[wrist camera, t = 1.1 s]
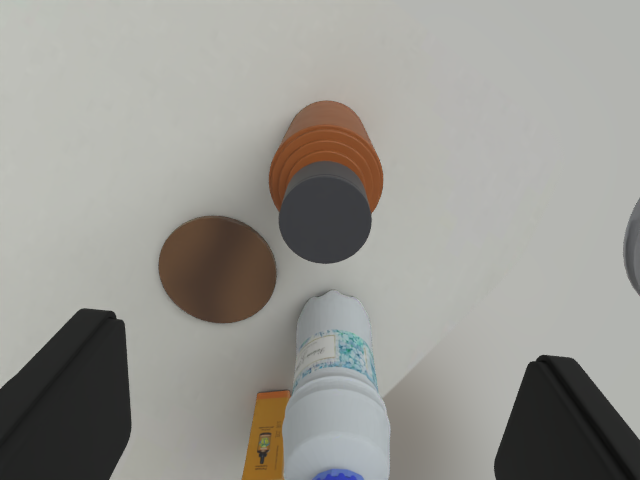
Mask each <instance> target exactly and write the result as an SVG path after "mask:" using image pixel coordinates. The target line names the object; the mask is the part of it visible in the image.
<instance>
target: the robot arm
mask: <svg viewBox="0 0 640 480" xmlns="http://www.w3.org/2000/svg"><path fill="white" fill-rule="evenodd" d="M130 433H131V409H130V394H129V379H128V364H127V349H126V334H125V324H124V321H123V320H119V319H117V318H116V315H115V313H114V312H113V311H105V310H96V309H86V308H84V309H80V310H79V311H78V312H77V313H76V314H75V315H74V316H73V317H72V318H71V319H70V320H69V321H68V322H67V323H66V324H65V325H64V326H63V327H62V328H61V329H60V330H59V331H58V332H57V333H56V334H55V335H54V336H53V337H52V338H51V339H50V340H49V342H48V343H47V344H46V345H45V346H44V347H43V348H42V349H41V350H40V351H39V352H38V353H37V354H36V355H35V356H34V357H33V358H32V359H31V360H30V361H29V362H28V363H27V364H26V365H25V366H24V367H23V368H22V369H21V370H20V371H19V372H18V374H17V375H16V376H14V377H13V378H12V379H10V380H9V381H8V382H7V383H6V384H5V385H4V386H3V387H2V388H1V389H0V480H109V479H110V477H111V475H112V473H113V471H114V469H115V467H116V465H117V463H118V461H119V459H120V457H121V455H122V453H123V451H124V449H125V447H126V445H127V443H128V441H129V437H130ZM494 471H495V477H496V480H640V440H639V439H638V437H637V436H636V435H635V434H634V432H633V431H632V430H631V429H630V428H629V426H628V425H627V424H626V422H625V421H624V420H623V419H622V417H621V416H620V415H619V414H618V412H617V411H616V410H615V409H614V407H613V406H612V405H611V404H610V402H609V401H608V400H607V399H606V397H605V396H604V395H603V394H602V392H601V391H600V390H599V389H598V387H597V386H596V385H595V384H594V382H593V381H592V380H591V379H590V377H589V376H588V375H587V374H586V373H585V371H584V370H583V369H582V367H581V366H580V365H579V364H578V363H577V362H576V361H575V360H574V359H572V358H569V357H559V356H549V355H541V356H539V357H538V358H537V360H536V362H535V361H533V362H530V363H529V364H528V366H527V368H526V372H525V374H524V377H523V380H522V383H521V386H520V389H519V391H518V394H517V397H516V400H515V403H514V406H513V409H512V412H511V415H510V417H509V420H508V423H507V426H506V429H505V432H504V435H503V438H502V440H501V443H500V446H499V449H498V452H497V455H496V458H495V463H494Z"/></svg>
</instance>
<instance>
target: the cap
mask: <svg viewBox="0 0 640 480" xmlns="http://www.w3.org/2000/svg"><path fill="white" fill-rule="evenodd" d="M371 222H372V218H371V211H370V207H369V203H368V199H367V195H366V191H365V188H364V185H363V183H362V181H361V180H360V178H359V177H358V176H357V175H356V174H355V172H353V171H352V170H351V169H350V168H348V167H346V166H344V165H342V164H340V163H337V162H332V161H319V162H314V163H311V164H309V165H307V166H305V167H303V168H302V169H300V170H299V171H298V172H297V173H296V174H295V175H294V176H293V177H292V179H291V180H290V182H289V184H288V186H287V189H286V192H285V195H284V198H283V202H282V205H281V208H280V212H279V228H280V231H281V234H282V237H283V239H284V241H285V242H286V244H287V245H288V246H289V248H290V249H291V250H292V251H293V252H294V253H296V254H297V255H298V256H300V257H302V258H304V259H306V260H308V261H311V262H315V263H323V264H327V263H335V262H339V261H342V260H345V259H347V258H349V257H350V256H352V255H354V254H355V253H356V252H357V251H358V250H359V249H360V248H361V247H362V246H363V245H364V243H365V242H366V240H367V238H368V236H369V233H370V229H371Z"/></svg>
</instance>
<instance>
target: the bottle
mask: <svg viewBox="0 0 640 480" xmlns="http://www.w3.org/2000/svg"><path fill="white" fill-rule="evenodd" d="M296 349H297V355H296V364H295V373H294V383H293V392H292V396H291V397H290V399H289V401H288V403H287V406H286V409H285V418H284V421H283V425H282V436H283V448H284V469H285V476H286V480H388V478H389V473H390V423H389V419H388V417H387V409H386V407H385V403H384V401H383V400H382V398H381V396H380V395H379V393H378V386H377V380H376V373H375V366H374V359H373V353H372V330H371V324H370V320H369V317H368V314H367V312H366V311H365V309H364V307H363V305H362V304H361V302H360V301H359V300H358V299H357V298H356V297H354V296H351V297H348V296H345V295H342V294H341V293H339V292H338V291H337V290H330V291H329V292H327V293H326V294H325V295H322V296H320V297H312V298H311V299H309V300H308V301H307V303H306V304H305V306H304V308H303V310H302V312H301V314H300V316H299V320H298V323H297V333H296Z"/></svg>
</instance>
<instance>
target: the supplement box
mask: <svg viewBox="0 0 640 480" xmlns="http://www.w3.org/2000/svg"><path fill="white" fill-rule="evenodd" d="M290 397H291V395H290V391H289V390H284V391H276V392H266V393H263V392H262V393H258V394H257V399H256V405H255V410H254V416H253V421H252V427H251V432H250V438H249V444H248V449H247V455H246V460H245V466H244V471H243V476H242V480H286V476H285V469H284V448H283V436H282V425H283V421H284V418H285V409H286V406H287V403H288V401H289V399H290Z"/></svg>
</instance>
